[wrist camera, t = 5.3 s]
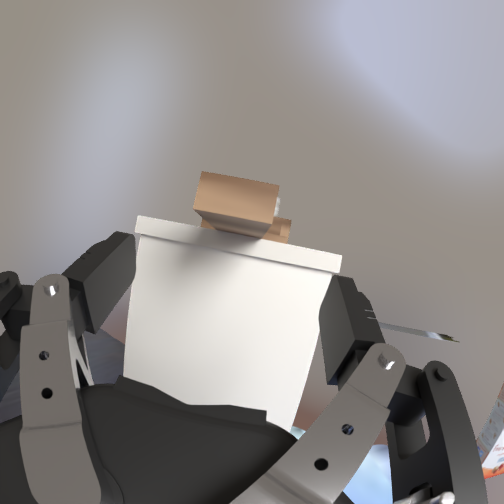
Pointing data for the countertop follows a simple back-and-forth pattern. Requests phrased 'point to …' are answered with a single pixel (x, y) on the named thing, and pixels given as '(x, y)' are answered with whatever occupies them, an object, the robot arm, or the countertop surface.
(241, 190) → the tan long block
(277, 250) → the cabinet
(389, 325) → the countertop surface
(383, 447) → the countertop surface
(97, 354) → the countertop surface
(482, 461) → the cracker box
